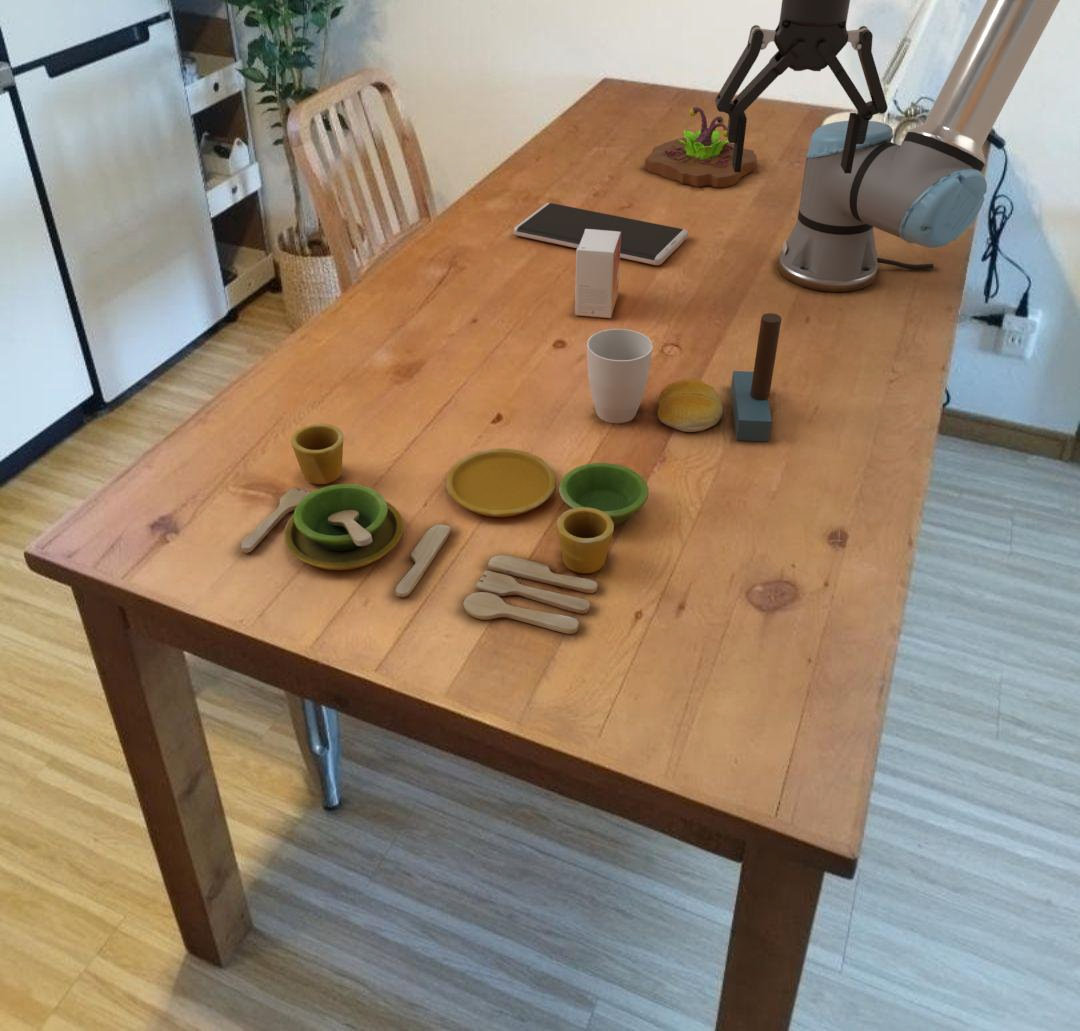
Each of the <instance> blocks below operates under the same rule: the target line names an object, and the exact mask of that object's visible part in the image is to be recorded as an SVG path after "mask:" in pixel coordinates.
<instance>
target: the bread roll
mask: <svg viewBox="0 0 1080 1031" xmlns="http://www.w3.org/2000/svg"><path fill="white" fill-rule="evenodd" d="M720 397H721V396H720V395H719V393H718V392H717V391H716V390H715V388H714V387H712V386H711V385H710V384H709V383H706V382H705V381H702V380H699V379H693V378H685V379H683V378H682V379H679V380H676V381H673V382H671V383H670V384H668V385H667V386H665V387H663V389H662V390H661V391H660V393H659V396H658V399H657V404H658V409H657V414H656V415H657V418H658V420H659V421H660V422H661V423H662V424H664V425H665V426H668V427H669V428H672V429H675V430H678V431H681V432H686V433H695V432H701V431H705V430H708V429H710V428H712V427H714V426H716V425H717V424H718V423H719V422H720V420H721V418H722V416H723V412H724V408H723V404H722V400H721V398H720Z"/></svg>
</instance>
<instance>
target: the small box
mask: <svg viewBox="0 0 1080 1031" xmlns="http://www.w3.org/2000/svg"><path fill="white" fill-rule="evenodd" d="M620 247H621V232H618V231H607V230H595V229H585V231H584V234H583V237H582V239H581V242H580V244H579V246H578V248H576V249H575V256H576V257H575V285H574V286H575V290H574V292H575V293H574V298H575V299H574V315H575V316H581V317H592V318H604V319H612V316H613V312H614V310H615V306H616V304H617V301H618V297H619V284H620V283H619V282H620V281H619V279H620V261H621V258H620Z"/></svg>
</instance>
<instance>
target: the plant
mask: <svg viewBox="0 0 1080 1031" xmlns="http://www.w3.org/2000/svg"><path fill="white" fill-rule="evenodd" d="M688 112H689V113H688V114H689V116H691V117H694V116H696V115H697V114H698V112H699V114H700V118H701V125H700V128H698V129H697V130H696V132H695V133H694V132H692V131H690V130H687V129H684V131H683V133H684V134H683V137H679V138H675V139H672V140H669V141H666V142H664V143H662V144H660V145H659V144H658V145H657V146H654V147H653V148H652V152H651V153H649V155H647V156H646V157H645V161H644V170H646V171H648V172H649V173H652V174H654V175H655V174H656V175H658V176H661V177H663V178H666V179H668V180H672V181H677V182H678V183H679V182H680V184H682V185H690V186H693V187H696V188H702V187H714V188H717V189H719V188H720V189H721V188H728V187H733V186H734V185H736V184H737V183H738V182H739V181H740V179H741V178H743V177H745V176H746V175H748V174H751V173H753V172H755V171H756V166H757V155H756V153H755V151H754V149H748V148H744V147H743V156H742V164H741V172H734V169H733V166H732V159H733V151H734V143H729V141H728V138H727V127H728V126H727V125H725V118H724V117H723V116H716V117H714V118H713V119H712V120H711V123H710V125H709V126H708V121H707V116H706V115H705V111H704V110H703V109H702V108H700V107H698V106H694V107H692V108H690V109H689V111H688ZM716 122H717V123H716ZM720 127H722V133H721V132H719V130H718V129H717V128H720ZM722 136H723V137H725V138H727V139H724V140H720V138H722Z"/></svg>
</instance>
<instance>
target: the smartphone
mask: <svg viewBox="0 0 1080 1031" xmlns="http://www.w3.org/2000/svg"><path fill="white" fill-rule="evenodd" d="M585 229H595V230H607V231H618V232H621V247H620V259H623V260H624V259H625V260H629V261H633V262H638V263H642V264H643V263H644V264H648V265H651V266H660V265H662V264H663V263H664V262H666V260H667V259H668V258H669V257H670V256H671V255H672V254H673V253H674V252H675V251H676V250H677V249H678V248H679V247H680V246H681V245H682V244H683V243H684V242H685V241H686V240H687V239H688V237H689V230H687V229H684V228H680V227H674V226H669V225H664V224H659V223H654V222H649V221H644V220H639V219H634V218H628V217H624V216H620V215H619V216H618V215H614V214H609V213H604V212H599V211H594V210H589V209H584V208H578V207H573V206H568V205H564V204H559V203H553V202H547V203H544V205H542V206H541V207H539V208H538V209H537V210H535V211H534V212H533V213H531V214H530V215H529V216H527V217H526V218H525V219H523V220H522V221H520V223H518V224H517V225H515V226H514V227H513V234H514V236H517V237H522V238H526V239H531V240H534V241H540V242H543V243H544V242H545V243H549V244H554V245H559V246H563V247H568V248H572V249H577V248H578V246H579V244H580V242H581V239H582V237H583V234H584V231H585Z"/></svg>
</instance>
